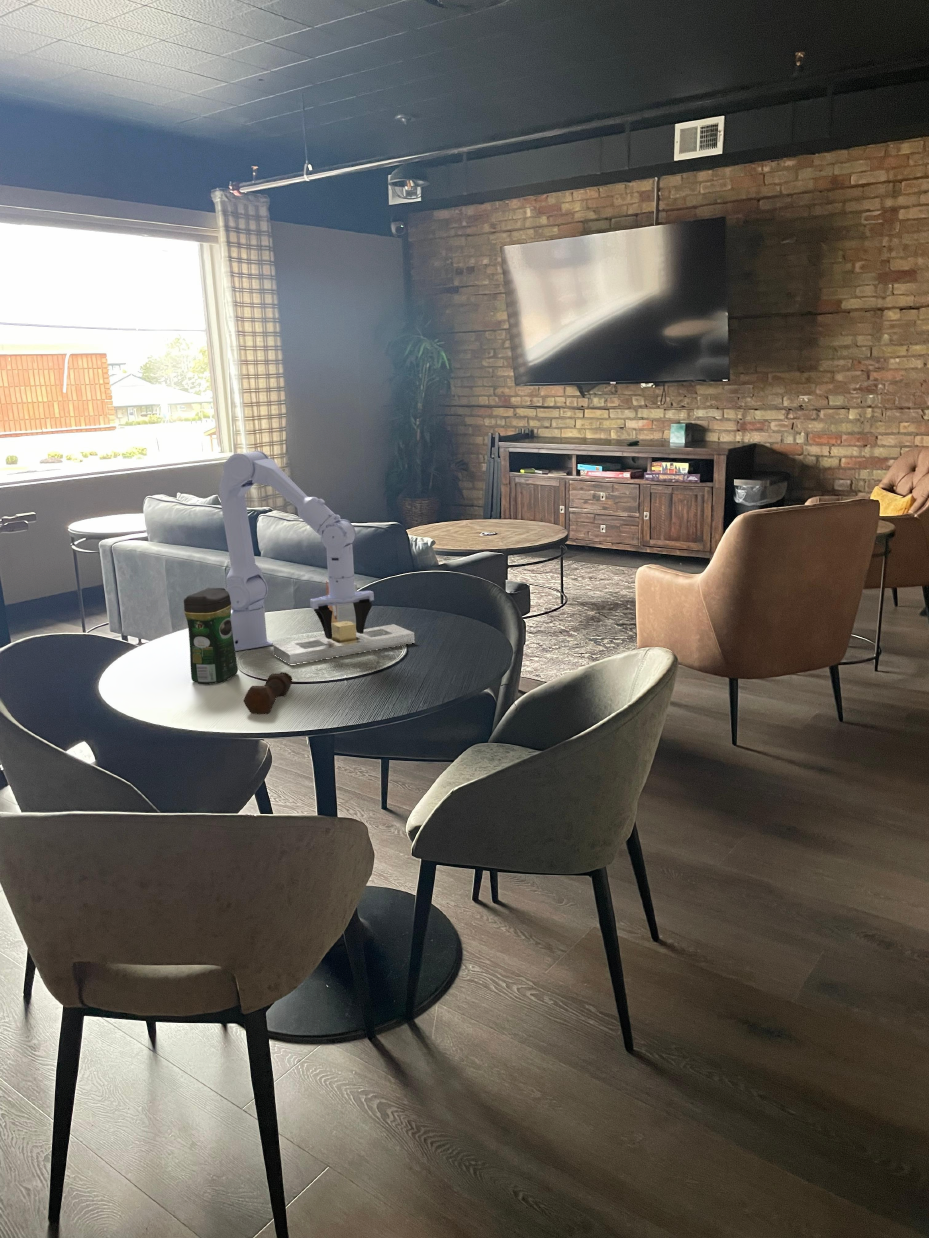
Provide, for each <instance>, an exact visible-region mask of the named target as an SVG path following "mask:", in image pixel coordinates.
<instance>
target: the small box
mask: <svg viewBox="0 0 929 1238" xmlns="http://www.w3.org/2000/svg"><path fill="white" fill-rule="evenodd" d="M325 584H326V596H327V595H329V583H328V580H326V582H325ZM357 586H358V584H357V583H355V592H358V587H357ZM328 608H329V610H331V611H333V612H332V623H336V622H342V621H350V622H352V623H354V624H356V616H355V610H354V605H353V603H347V604H340V605H334V606H328ZM332 623H331V624H332Z"/></svg>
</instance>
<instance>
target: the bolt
mask: <svg viewBox="0 0 929 1238" xmlns="http://www.w3.org/2000/svg"><path fill="white" fill-rule="evenodd" d="M292 684H293V677H292V676H291V675H290V674H289V673H287V672H283V671H282V672H280V673H279V672H278V673H277V672H276V673H271V674H269V676H268V677H267V679H266V681H265V683H264V685H251V686H250V687H249V688H248V690H247V692H246V694H245V696H244V699H243V703H244V705H245V707H246V709H247V710H248V712H249V713H250V714H251V715H252V714H253V715H268V714H269V713H270V712H271V711H272V708H273V707H274V705H275V703H276V701H277V698H283V697H285V696H287V695H288V692H289V690H290V688H291V686H292Z"/></svg>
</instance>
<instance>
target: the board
mask: <svg viewBox="0 0 929 1238" xmlns="http://www.w3.org/2000/svg"><path fill="white" fill-rule="evenodd" d="M412 643H414V644H415V632H414V631H411V630H408V629H407V628H403V627H401V626H399V625H396V624H394V623H392V624H388V625H387V624H386V625H381V626H375V627H369V628H364V632H363V634H360V633H358V632H357V630H356V640H354V641H349V642H343V643H337V642H335V641H333V638H332V639H327V638H326V637H325V635H323V636H322V635H321V636H316V637H309V638H305V639H299V640H291V641H287V642H280V643H276V644H274V643H273V645H272V647H273V649H272V650H273V656H274V655H276V656H277V657H279V658H281V659H282V660H284V661H286V662H287V663H289V664H297V663H303V662H310V661H316V660H321V659H326V658H332V657H336V656H342V655H348V656H350V655H349V654H354V655H356V654H355V653H359V652H364V651H370V650H376V649H381V650H383V649H382V648H387V647H392V648H395V647H394V646H397V647H400V646H399V645H403V646H407V645H406V644H408V645H413V644H412ZM387 649H388V648H387ZM376 651H377V650H376ZM370 652H371V651H370ZM359 654H360V653H359ZM277 657H276V658H277ZM279 658H278V659H279ZM332 659H333V658H332ZM282 660H281V661H282ZM321 661H322V660H321ZM316 662H317V661H316ZM287 663H286V664H287ZM310 663H311V662H310Z"/></svg>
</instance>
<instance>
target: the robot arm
mask: <svg viewBox="0 0 929 1238" xmlns="http://www.w3.org/2000/svg"><path fill="white" fill-rule="evenodd" d="M222 469H223V472H222V476H221V479H220V483H219V485H218V486H219V487H218V493H219V500H220V506H221V507H220V508H221V512H222V518H223V525H224V526H223V527H224V531H225V532H224V533H225V537H226V544H227V549H228V550H227V551H228V555H229V557H228V558H229V563H230V569H229V571H228V574H227V575H226V578H225V579H226V581H225V582H226V589H225V590H226V591H228V593H229V595H230V600H231V625H232V633H233V640H234V647H235V652H238V651H244V650H249V649H257V648H262V647H268V646H273V645H274V642H272V641H271V640H269V639H268V637H267V624H266V613H265V611H266V610H265V599H266V597H267V596H268V593H269V586H268V583H267V581H266V580H265V577H264V576H263V570H262V569H261V567H260V566H259V565H258V564H256V559H255V554H254V547H253V540H252V533H251V526H250V519H249V515H248V508H247V501H246V494H248V492H249V491H250V490H251V488H252V487H254V485H255V484H257V485H266V486H270V487H271V488H272V489H273V490H275V491H276V492H277V493H278V494H280V495H281V497H283V498H285V500H287V501H288V502H289V503H291V504H292V505H293V506H294V507H295V508H297V515H298V517H299V518H300V519H301V520H302V521H303V522H305V524H306V525H308V526H309V527H310V529H312V530H313V531H314V532H315V533H316V534H318V536H320V540H321V543H322V546H324V547H325V549H326V563H327V565H326V566H327V576H328V577H327V579H328V580H327V581H328V583H329V595H327V594H326V595H323V596H319V597H315V598H310V599H309V600H310V601H309V602H310V603H309V604H310V605H309V606H310V609H313V611H314V613H315V614H316V616H317V618H318V619H319V622H320V623H321V626H322V629H323V632H324V636H325V637H326V638H327V639H332V612H333V611H331V610H329V608H328V606H334V605H340V604H347V603H353V605H354V610H355V616H356V631H357V632H358V633H360V634H363V632H364V629H365V625H366V620H367V618H368V615H369V613H370V610H371V609H372V607H373V603H372V601H375V597H374V596H375V594H374V591H371V590H361V591H357V592H355V584H356V583H355V569H354V568H355V567H354V553H353V549H354V548H353V542H354V540H355V539H356V529H355V526H354V525H353V524H352V522H351V521H350V520H349V519H342V518H341V516H340V515H339V514H335V512H333V510H331V509H330V508H329V507H328V506H327V505H325V503H326V501H325V500H324V499H323V498H318V497H316V496H308V495H307V494H306V493H305V492H304V491H303V490H302V489H301V488H300V487H299V486H298V485H297V484H296V483H295V482H294V481H293V480H292V479H291V478H290V477H289V476H288V475H287V474H286V473H285V472H284V471H283V470H282V469H281V468H280V467H279V465H278V464H277V462H276V461H275V460H274V459H272V458H270V457H269V456H268V455H267V454H266V453H265V452H263V451H262V450H254V451H249V452H243V453H241V452H236V453H233V454H232V455H230V457H228V458H227V459H226V461H225V462H224V463H223V464H222Z"/></svg>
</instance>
